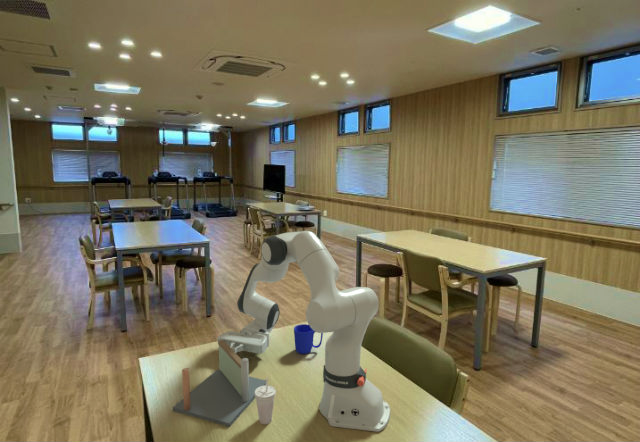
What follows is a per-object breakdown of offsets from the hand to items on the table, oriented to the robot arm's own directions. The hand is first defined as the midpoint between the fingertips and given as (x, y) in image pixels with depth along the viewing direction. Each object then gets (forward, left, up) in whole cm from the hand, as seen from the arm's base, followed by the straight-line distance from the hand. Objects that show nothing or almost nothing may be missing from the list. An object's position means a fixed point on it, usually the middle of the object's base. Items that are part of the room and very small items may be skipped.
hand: (231, 351), depth 145 cm
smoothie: (-26, +22, -7) cm, 35 cm away
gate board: (-7, +16, -7) cm, 19 cm away
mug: (-22, -23, -7) cm, 33 cm away
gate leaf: (-6, +10, -5) cm, 13 cm away
